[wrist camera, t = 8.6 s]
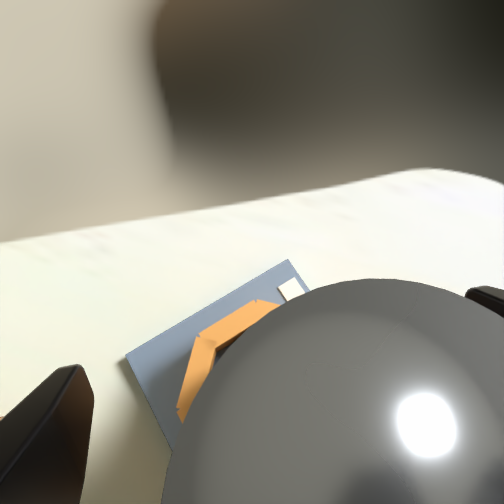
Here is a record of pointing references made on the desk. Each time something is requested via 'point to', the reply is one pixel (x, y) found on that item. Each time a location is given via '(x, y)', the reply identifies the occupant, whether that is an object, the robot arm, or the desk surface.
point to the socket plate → (205, 344)
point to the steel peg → (351, 404)
